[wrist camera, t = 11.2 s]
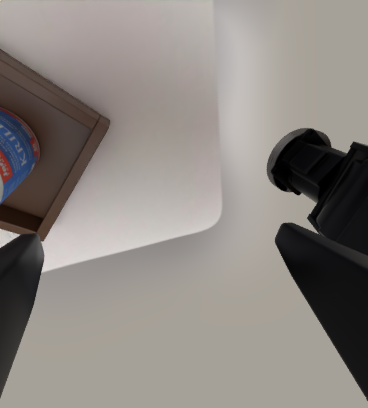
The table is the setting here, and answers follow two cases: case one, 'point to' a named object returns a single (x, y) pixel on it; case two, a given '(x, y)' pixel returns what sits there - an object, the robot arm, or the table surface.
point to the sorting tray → (46, 146)
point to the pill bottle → (15, 152)
